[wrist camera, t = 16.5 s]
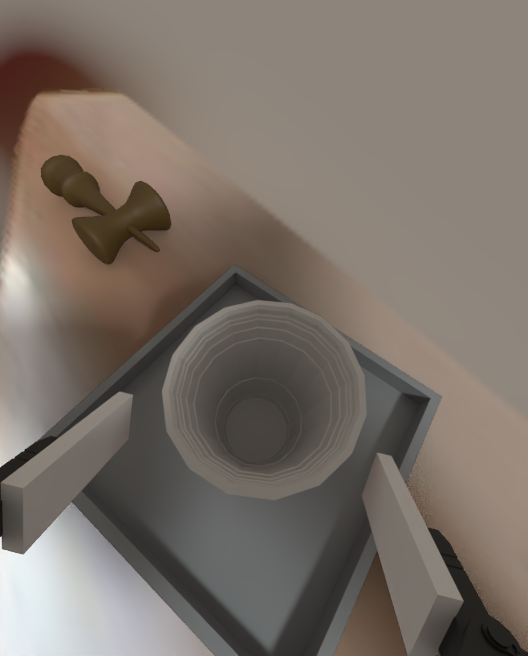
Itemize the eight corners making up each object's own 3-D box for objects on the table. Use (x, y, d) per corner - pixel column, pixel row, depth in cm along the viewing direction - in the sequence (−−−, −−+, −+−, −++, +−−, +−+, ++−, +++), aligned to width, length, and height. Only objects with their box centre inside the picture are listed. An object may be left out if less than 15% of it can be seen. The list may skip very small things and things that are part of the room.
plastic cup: (192, 372, 28) (167, 297, 18) (305, 367, 29) (343, 294, 19) (187, 507, 22) (145, 512, 12) (325, 494, 24) (394, 489, 13)
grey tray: (424, 405, 29) (442, 396, 27) (287, 709, 18) (296, 743, 16) (234, 281, 35) (234, 264, 32) (47, 456, 24) (25, 451, 22)
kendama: (102, 179, 43) (195, 247, 37) (39, 210, 40) (131, 292, 33) (82, 135, 38) (187, 207, 32) (7, 167, 34) (110, 254, 28)
